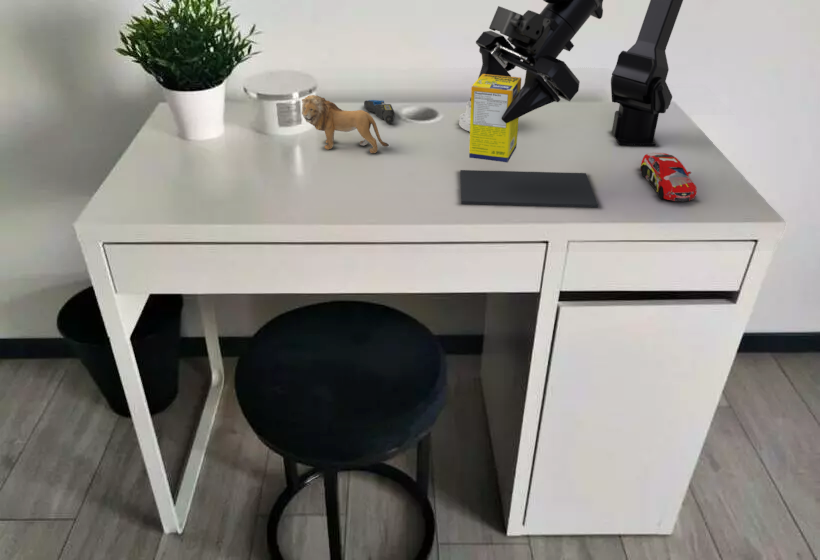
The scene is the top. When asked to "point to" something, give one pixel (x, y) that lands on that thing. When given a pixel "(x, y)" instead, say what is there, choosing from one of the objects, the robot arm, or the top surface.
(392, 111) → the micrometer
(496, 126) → the supplement box
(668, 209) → the top surface
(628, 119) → the robot arm
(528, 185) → the desk pad
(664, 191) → the race car
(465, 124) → the mechanical component
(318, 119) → the lion figurine
